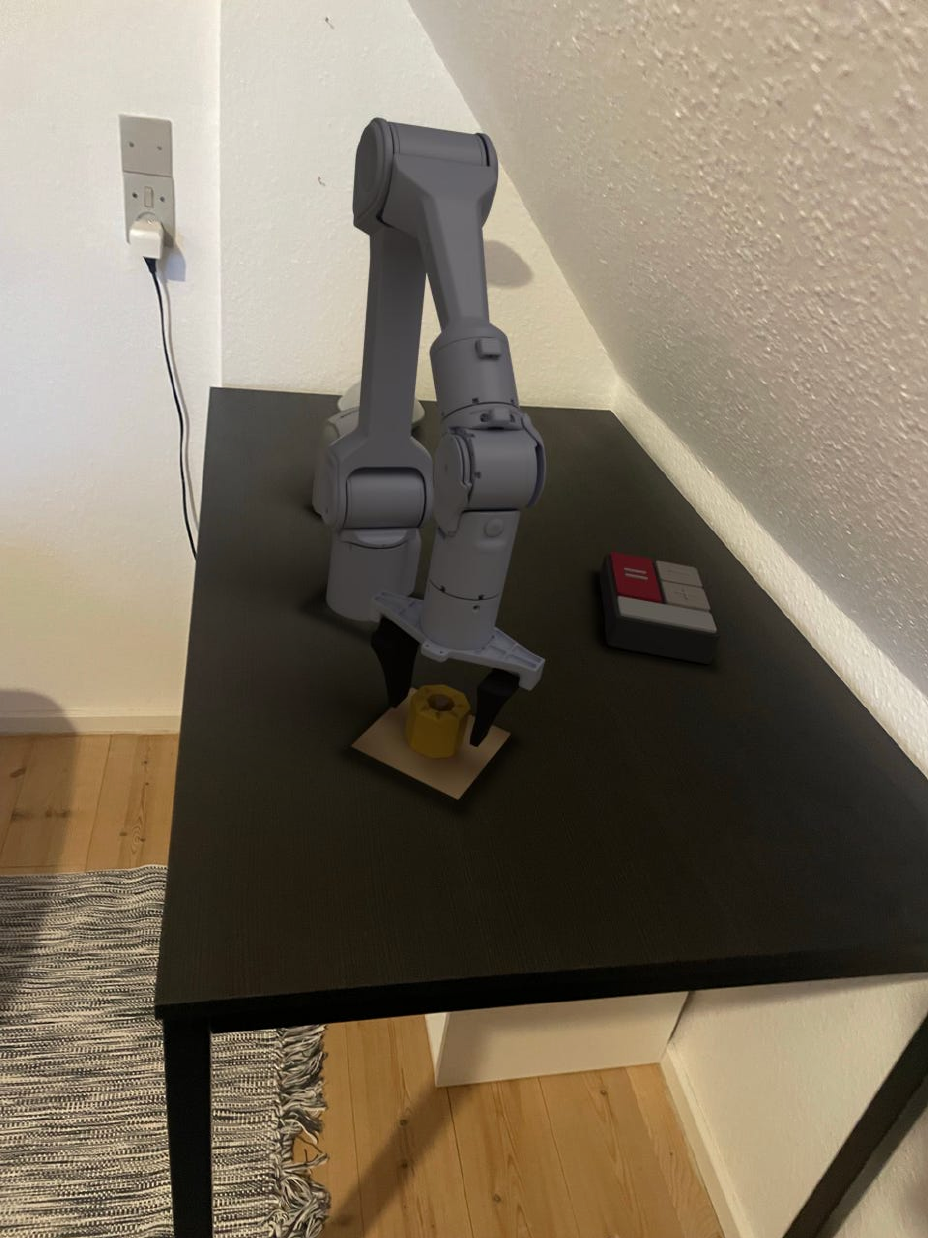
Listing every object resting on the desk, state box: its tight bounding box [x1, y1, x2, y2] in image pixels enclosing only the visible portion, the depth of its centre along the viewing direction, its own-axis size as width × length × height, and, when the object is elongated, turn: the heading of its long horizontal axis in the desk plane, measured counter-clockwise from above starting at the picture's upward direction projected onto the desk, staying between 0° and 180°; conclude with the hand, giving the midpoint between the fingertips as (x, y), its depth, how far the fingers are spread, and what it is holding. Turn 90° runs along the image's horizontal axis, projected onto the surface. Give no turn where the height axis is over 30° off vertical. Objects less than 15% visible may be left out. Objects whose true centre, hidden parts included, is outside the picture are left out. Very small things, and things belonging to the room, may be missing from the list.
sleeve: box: [405, 684, 472, 759], centre depth 78 cm, size 5×5×4 cm
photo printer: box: [311, 405, 359, 516], centre depth 110 cm, size 10×4×12 cm, turn 137°
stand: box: [350, 687, 511, 800], centre depth 78 cm, size 10×10×5 cm
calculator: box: [598, 551, 721, 665], centre depth 103 cm, size 11×4×15 cm
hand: (437, 720), depth 78 cm, fingers open, 7 cm apart
